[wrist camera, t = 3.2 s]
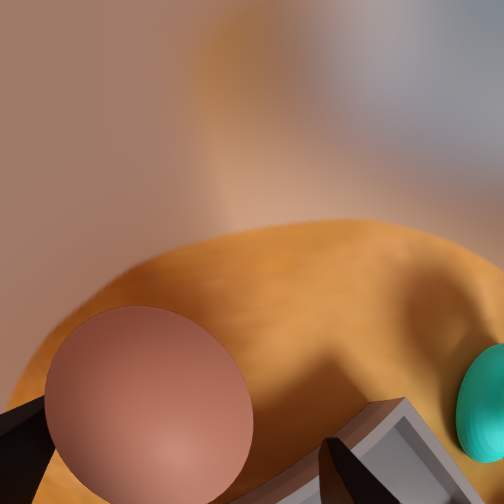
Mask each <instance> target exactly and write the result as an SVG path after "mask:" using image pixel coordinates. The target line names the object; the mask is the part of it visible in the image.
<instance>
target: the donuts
mask: <svg viewBox="0 0 504 504" xmlns="http://www.w3.org/2000/svg"><path fill="white" fill-rule="evenodd" d="M456 430H457V435H458V439H459V442H460V445H461V447H462V449H463V450H464V452H465V453H466V454H467V455H468V456H469V457H470V458H471V459H473V460H475V461H477V462H481V463H491V462H494V461H497V460H500V459H502V458H503V457H504V344H496V345H493V346H491V347H489V348H487V349H486V350H484V351H483V352H482V353H481V354H480V355H479V356H478V357H477V358H476V359H475V360H474V361H473V363H472V364H471V366H470V367H469V369H468V371H467V373H466V375H465V377H464V379H463V382H462V385H461V388H460V391H459V395H458V400H457V406H456Z"/></svg>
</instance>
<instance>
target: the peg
mask: <svg viewBox="0 0 504 504" xmlns="http://www.w3.org/2000/svg"><path fill="white" fill-rule="evenodd" d="M44 400H45V414H46V420H47V425H48V428H49V432H50V435H51V438H52V440H53V443H54V445H55V447H56V449H57V451H58V453H59V455H60V456H61V458H62V460H63V461H64V463H65V464H66V466H67V467H68V468H69V470H70V471H71V472H72V473H73V474H74V475H75V477H76V478H77V479H78V480H79V481H80V482H81V483H82V484H83V485H85V486H86V487H87V488H88V489H89V490H91V491H92V492H93V493H95V494H96V495H98V496H99V497H101V498H102V499H104V500H106V501H108V502H110V503H112V504H207V503H209V502H211V501H212V500H214V499H215V498H217V497H218V496H219V495H220V494H222V493H223V492H224V491H225V490H226V489H227V488H228V487H229V486H230V485H231V484H232V483H233V482H234V480H235V479H236V477H237V476H238V474H239V473H240V471H241V470H242V468H243V466H244V464H245V461H246V459H247V457H248V454H249V450H250V446H251V443H252V435H253V410H252V404H251V398H250V395H249V392H248V388H247V385H246V382H245V380H244V378H243V376H242V374H241V371H240V369H239V368H238V366H237V364H236V363H235V361H234V360H233V358H232V356H231V355H230V354H229V353H228V351H227V350H226V349H225V348H224V346H223V345H222V344H221V343H220V342H219V341H218V340H217V339H216V338H215V337H214V336H213V335H212V334H210V333H209V332H208V331H207V330H205V329H204V328H203V327H201V326H200V325H198V324H197V323H195V322H193V321H192V320H190V319H188V318H186V317H184V316H182V315H180V314H177V313H175V312H172V311H169V310H165V309H162V308H157V307H151V306H123V307H119V308H114V309H110V310H107V311H104V312H101V313H99V314H97V315H95V316H93V317H91V318H89V319H88V320H86V321H85V322H83V323H82V324H80V325H79V326H78V327H77V328H76V329H75V330H74V331H72V332H71V333H70V334H69V336H68V337H67V338H66V339H65V340H64V342H63V343H62V344H61V346H60V347H59V349H58V351H57V352H56V354H55V356H54V358H53V361H52V363H51V366H50V369H49V372H48V375H47V380H46V385H45V399H44Z"/></svg>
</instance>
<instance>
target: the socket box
mask: <svg viewBox="0 0 504 504" xmlns="http://www.w3.org/2000/svg"><path fill="white" fill-rule="evenodd" d="M333 436H336V437H338V438H340V440H341V441H342V442H343V443H344V444H345V445H346V446H347V447H348V448H349V449H350V451H351V452H352V453H353V454H354V455H355V456H356V457H357V458H358V459H359V460H360V461H361V462H362V463H363V464H364V466H365V467H366V468H367V469H368V470H369V471H370V472H371V473H372V474H373V475H374V476H375V477H376V478H377V479H378V480H379V481H380V482H381V483H382V484H383V485H384V486H385V487H386V488H387V489H388V490H389V491H390V492H391V493H392V494H393V495H394V496H395V497H396V498H397V499H398V500H399V501H400V503H402V504H484V502H483V501H482V499H481V498H480V496H479V495H478V493H477V492H476V491H475V489H474V488H473V486H472V485H471V484H470V482H469V481H468V479H467V478H466V477H465V475H464V474H463V472H462V471H461V470H460V468H459V467H458V466H457V464H456V463H455V461H454V460H453V459H452V457H451V456H450V455H449V453H448V452H447V451H446V449H445V448H444V447H443V445H442V444H441V443H440V441H439V440H438V439H437V437H436V436H435V435H434V433H433V432H432V431H431V429H430V428H429V427H428V425H427V424H426V423H425V421H424V420H423V419H422V418H421V416H420V415H419V414H418V412H417V411H416V410H415V408H414V407H413V406H412V405H411V403H410V402H409V401H408V399H407V398H406V397H403V398H397V399H391V400H384V401H377V402H370V403H369V404H368V405H367V406H366V407H365V408H364V409H363V410H362V411H361V412H359V413H358V414H357V415H356V416H355V417H354V418H353V419H352V420H350V421H349V422H348V423H347V424H346V425H345V426H343V427H342V428H341V429H340V430H339V431H337V432H336V433H335V434H334V435H333ZM333 436H331V437H333ZM321 445H322V444H321ZM321 445H320V446H319V447H317V448H316V449H315V450H313V451H312V452H311V453H309V454H308V455H306V456H305V457H304V458H302V459H301V460H299V461H298V462H297V463H295V464H294V465H292V466H291V467H289V468H288V469H286V470H285V471H283V472H282V473H280V474H278V475H277V476H275V477H274V478H272V479H271V480H269V481H267V482H266V483H264V484H262V485H261V486H259V487H257V488H255V489H254V490H252V491H250V492H248V493H247V494H245V495H243V496H241V497H239V498H237V499H235V500H233V501H232V502H230V503H228V504H321V499H320V488H319V465H318V453H319V449H320V447H321Z"/></svg>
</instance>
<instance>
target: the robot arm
mask: <svg viewBox="0 0 504 504" xmlns="http://www.w3.org/2000/svg"><path fill="white" fill-rule="evenodd" d="M44 399H45V395H43V396H41V397H39V398H37V399H34V400H32V401H30V402H28V403H26V404H23V405H21V406H19V407H16V408H14V409H12V410H10V411H7V412H5V413H3V414H0V504H32V501H33V499H34V496H35V494H36V491H37V489H38V487H39V484H40V482H41V480H42V477H43V475H44V473H45V471H46V468H47V466H48V464H49V462H50V459H51V457H52V455H53V453H54V451H55V449H56V447H55V445H54V443H53V440H52V438H51V435H50V432H49V428H48V425H47V420H46V414H45V400H44ZM318 465H319V488H320V499H321V504H402V503H400V501H399V500H398V499H397V498H396V497H395V496H394V495H393V494H392V493H391V492H390V491H389V490H388V489H387V488H386V487H385V486H384V485H383V484H382V483H381V482H380V481H379V480H378V479H377V478H376V477H375V476H374V475H373V474H372V473H371V472H370V471H369V470H368V469H367V468H366V467H365V466H364V464H363V463H362V462H361V461H360V460H359V459H358V458H357V457H356V456H355V455H354V454H353V453H352V452H351V451H350V449H349V448H348V447H347V446H346V445H345V444H344V443H343V442H342V441H341V440H340V438H338V437H336V436H333V437H325V438H324V440H323V442H322V445H321V447H320V449H319V453H318Z"/></svg>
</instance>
